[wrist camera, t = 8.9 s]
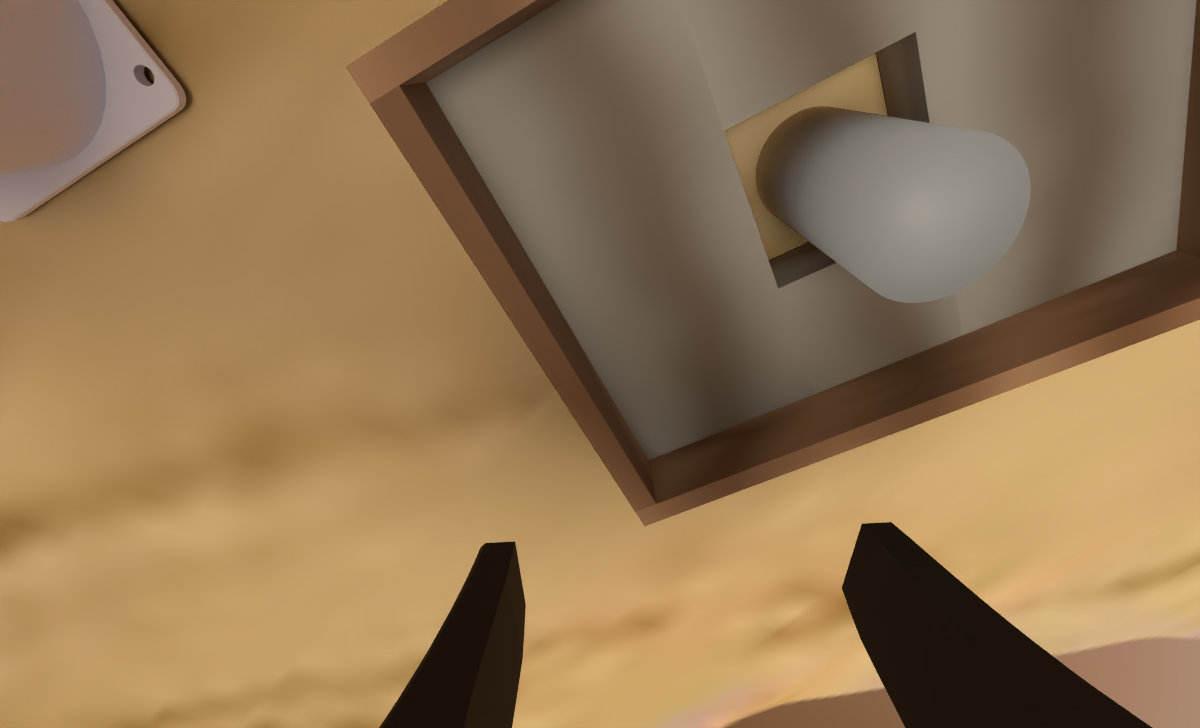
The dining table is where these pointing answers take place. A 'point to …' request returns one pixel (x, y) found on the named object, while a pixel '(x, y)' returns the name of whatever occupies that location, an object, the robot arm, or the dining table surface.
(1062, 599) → the dining table surface
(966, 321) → the box
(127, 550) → the dining table surface
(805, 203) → the peg
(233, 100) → the dining table surface
